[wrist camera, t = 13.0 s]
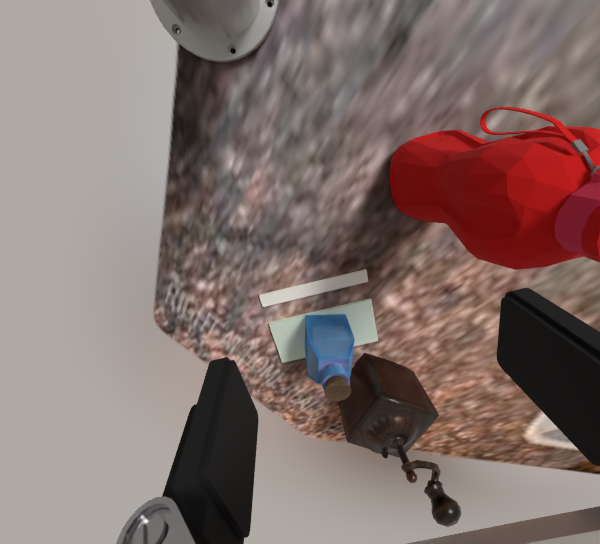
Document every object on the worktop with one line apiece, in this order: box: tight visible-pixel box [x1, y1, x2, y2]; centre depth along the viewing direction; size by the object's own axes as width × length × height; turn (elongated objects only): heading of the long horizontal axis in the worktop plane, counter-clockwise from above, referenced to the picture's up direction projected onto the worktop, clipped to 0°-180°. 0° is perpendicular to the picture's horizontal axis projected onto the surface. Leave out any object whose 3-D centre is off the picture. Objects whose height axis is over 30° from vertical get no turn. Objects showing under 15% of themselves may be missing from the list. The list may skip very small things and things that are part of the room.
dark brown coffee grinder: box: [338, 353, 461, 527], centre depth 44 cm, size 16×11×18 cm
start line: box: [259, 269, 368, 307], centre depth 43 cm, size 2×16×1 cm, turn 104°
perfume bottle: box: [305, 314, 355, 401], centre depth 40 cm, size 6×6×12 cm
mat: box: [269, 298, 378, 363], centre depth 46 cm, size 8×16×1 cm, turn 104°
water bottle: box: [389, 107, 600, 270], centre depth 25 cm, size 9×11×25 cm
